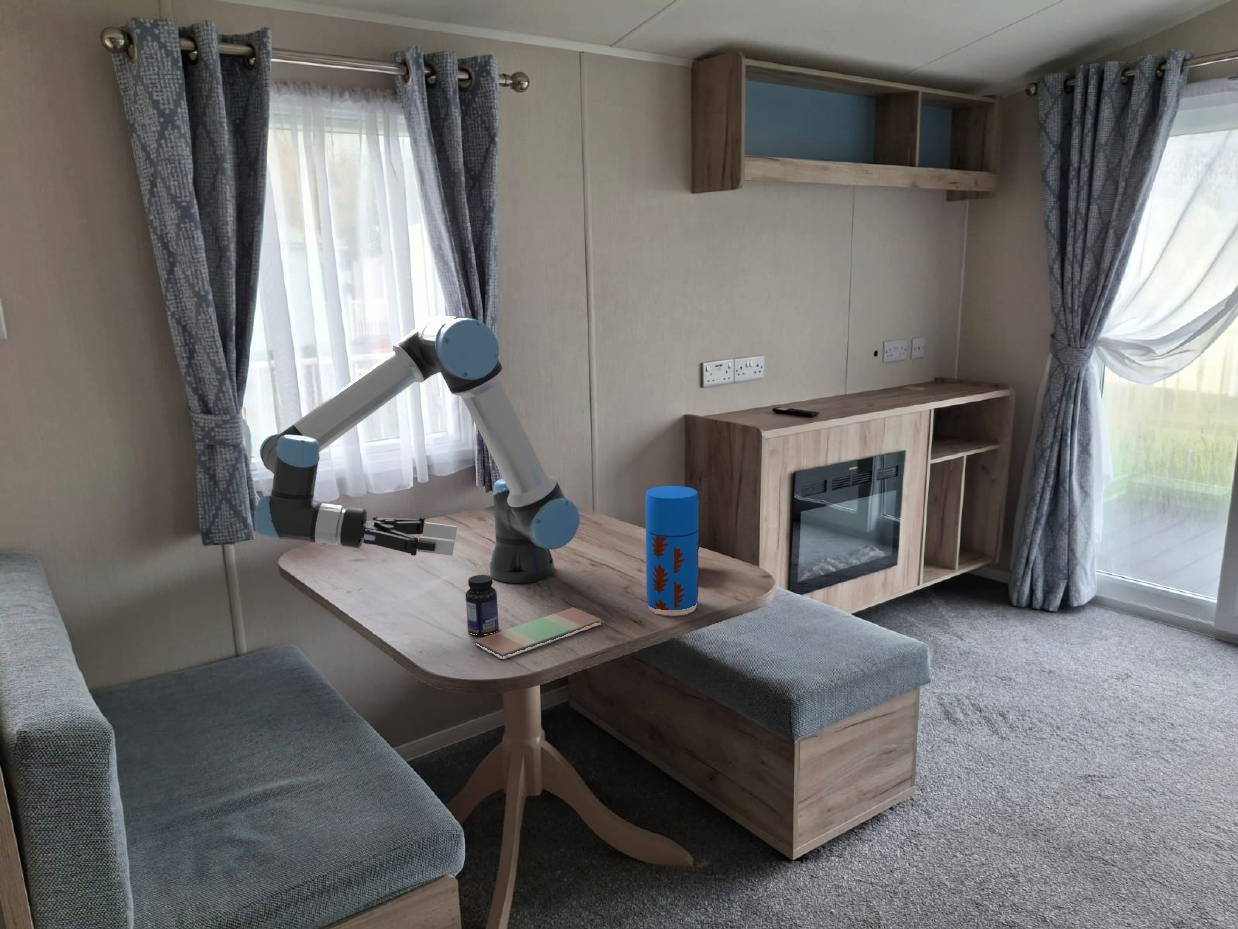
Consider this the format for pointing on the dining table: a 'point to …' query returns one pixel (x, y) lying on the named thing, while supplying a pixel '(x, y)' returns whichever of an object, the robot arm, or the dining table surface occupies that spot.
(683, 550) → the thermos
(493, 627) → the pill bottle
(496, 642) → the gauge plate
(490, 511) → the dining table surface
